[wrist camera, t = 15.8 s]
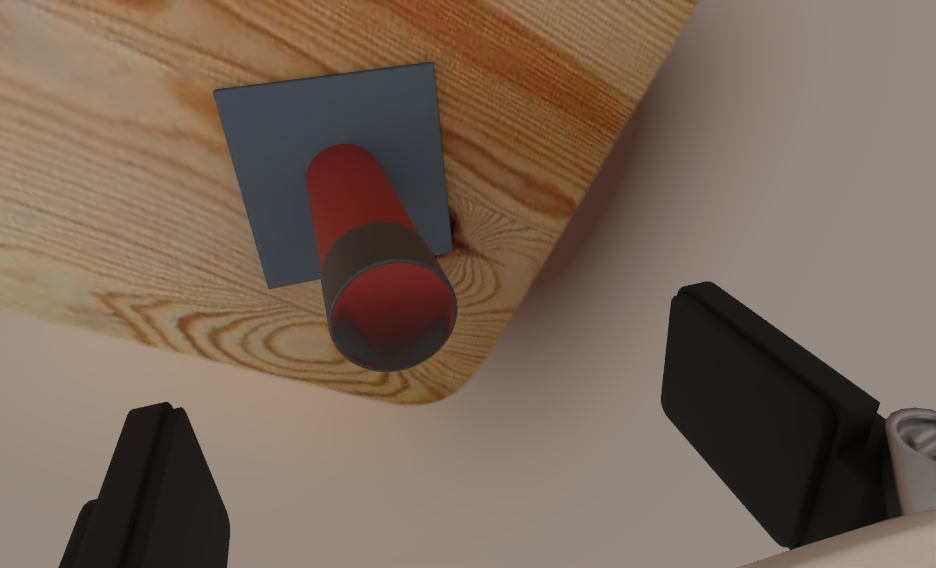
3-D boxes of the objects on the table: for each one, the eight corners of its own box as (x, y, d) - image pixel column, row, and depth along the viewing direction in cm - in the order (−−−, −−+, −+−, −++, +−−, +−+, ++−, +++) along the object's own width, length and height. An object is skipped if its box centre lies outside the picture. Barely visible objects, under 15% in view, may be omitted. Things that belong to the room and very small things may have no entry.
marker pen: (377, 136, 23) (451, 247, 13) (389, 210, 24) (462, 356, 15) (297, 149, 22) (315, 273, 13) (314, 224, 24) (342, 385, 14)
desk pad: (431, 61, 22) (433, 63, 22) (450, 248, 26) (453, 252, 26) (213, 89, 21) (212, 91, 20) (268, 285, 25) (268, 289, 24)
